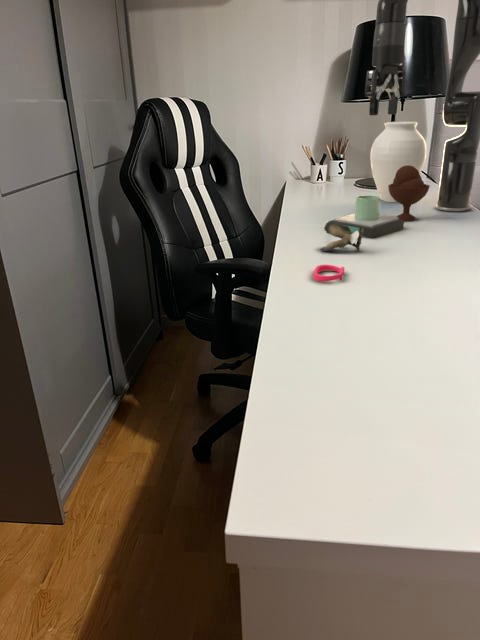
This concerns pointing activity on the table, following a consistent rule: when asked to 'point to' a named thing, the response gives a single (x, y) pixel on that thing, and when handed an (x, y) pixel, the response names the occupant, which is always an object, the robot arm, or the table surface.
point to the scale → (372, 225)
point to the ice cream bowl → (407, 189)
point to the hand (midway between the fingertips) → (383, 114)
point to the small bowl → (367, 207)
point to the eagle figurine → (342, 236)
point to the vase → (396, 154)
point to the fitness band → (328, 278)
